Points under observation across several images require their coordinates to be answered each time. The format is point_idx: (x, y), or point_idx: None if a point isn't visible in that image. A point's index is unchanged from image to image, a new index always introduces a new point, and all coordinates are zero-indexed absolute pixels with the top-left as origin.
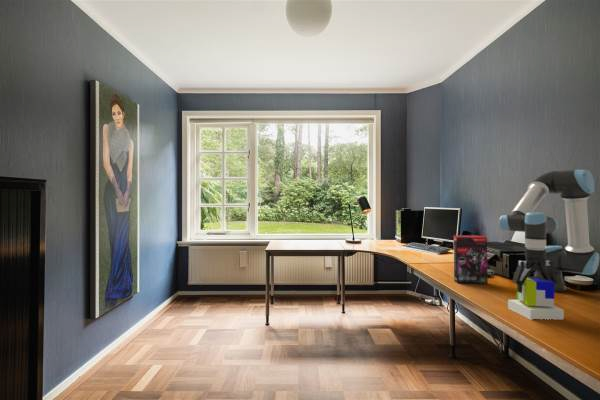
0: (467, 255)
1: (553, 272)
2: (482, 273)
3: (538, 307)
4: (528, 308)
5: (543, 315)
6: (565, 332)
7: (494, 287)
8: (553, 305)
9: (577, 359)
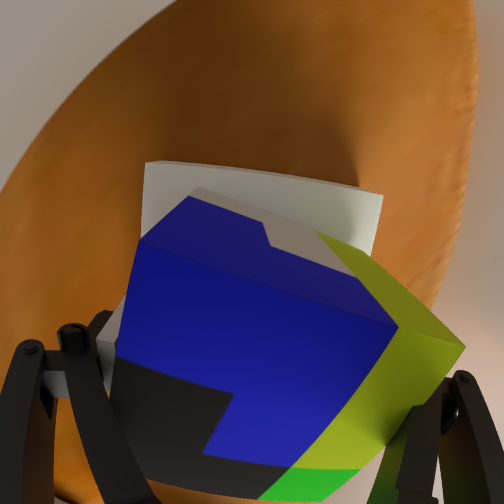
0: None
1: (3, 443)
2: None
3: None
4: (369, 224)
5: (290, 176)
6: (330, 15)
7: (162, 498)
8: (202, 188)
9: None
